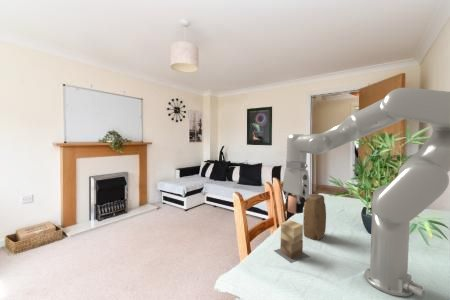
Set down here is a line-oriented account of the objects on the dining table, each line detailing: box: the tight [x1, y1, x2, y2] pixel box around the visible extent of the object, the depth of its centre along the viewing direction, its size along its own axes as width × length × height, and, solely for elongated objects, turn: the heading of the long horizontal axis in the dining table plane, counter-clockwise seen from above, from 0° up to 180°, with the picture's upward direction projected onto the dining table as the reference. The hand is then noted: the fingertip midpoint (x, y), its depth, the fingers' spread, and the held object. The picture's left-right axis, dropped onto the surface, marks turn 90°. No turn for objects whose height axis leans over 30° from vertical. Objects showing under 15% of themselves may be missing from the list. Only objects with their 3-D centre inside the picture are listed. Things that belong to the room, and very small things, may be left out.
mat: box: [273, 247, 311, 264], centre depth 86 cm, size 10×10×1 cm
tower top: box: [280, 219, 304, 244], centre depth 85 cm, size 6×6×6 cm
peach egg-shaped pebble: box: [287, 194, 301, 215], centre depth 85 cm, size 5×5×6 cm
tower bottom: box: [279, 237, 304, 259], centre depth 86 cm, size 6×6×6 cm
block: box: [302, 193, 327, 241], centre depth 102 cm, size 11×8×20 cm
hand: (294, 210), depth 85 cm, fingers closed on peach egg-shaped pebble, 4 cm apart
